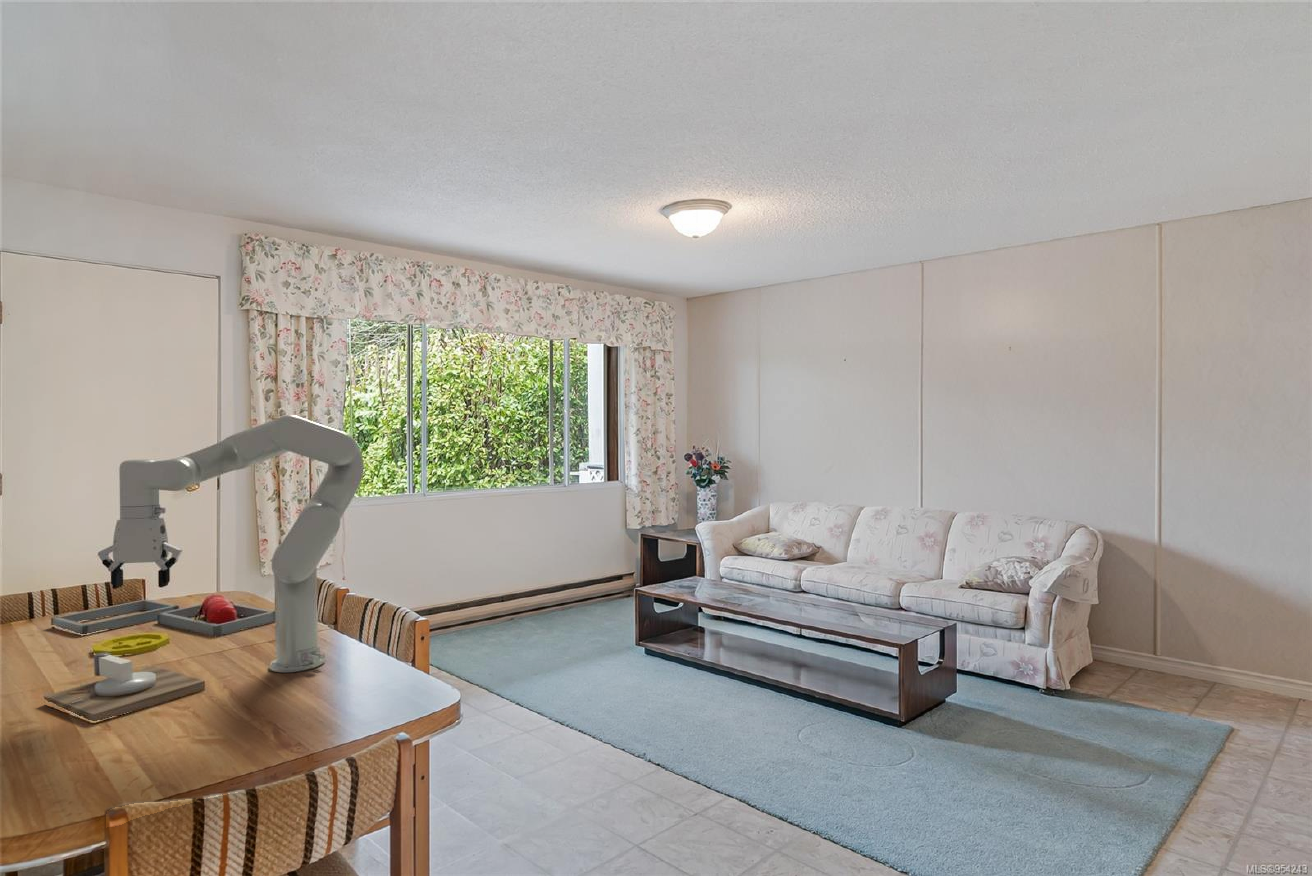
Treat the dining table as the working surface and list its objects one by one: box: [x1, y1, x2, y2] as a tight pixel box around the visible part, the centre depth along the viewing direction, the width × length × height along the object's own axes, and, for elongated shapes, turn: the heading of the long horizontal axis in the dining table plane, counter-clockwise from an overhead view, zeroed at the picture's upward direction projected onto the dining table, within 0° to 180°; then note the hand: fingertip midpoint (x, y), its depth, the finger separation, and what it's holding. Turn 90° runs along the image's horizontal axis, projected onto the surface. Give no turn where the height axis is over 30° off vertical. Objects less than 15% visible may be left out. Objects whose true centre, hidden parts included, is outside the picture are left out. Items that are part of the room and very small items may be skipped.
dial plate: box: [43, 665, 206, 721], centre depth 166 cm, size 22×22×2 cm
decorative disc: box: [92, 631, 170, 655], centre depth 204 cm, size 17×18×2 cm
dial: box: [93, 653, 156, 696], centre depth 168 cm, size 18×11×6 cm, turn 60°
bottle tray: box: [157, 602, 275, 638], centre depth 229 cm, size 32×18×3 cm, turn 60°
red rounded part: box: [194, 593, 238, 624], centre depth 229 cm, size 12×8×25 cm
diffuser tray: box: [50, 598, 180, 634], centre depth 232 cm, size 20×26×3 cm
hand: (140, 586), depth 173 cm, fingers open, 9 cm apart
